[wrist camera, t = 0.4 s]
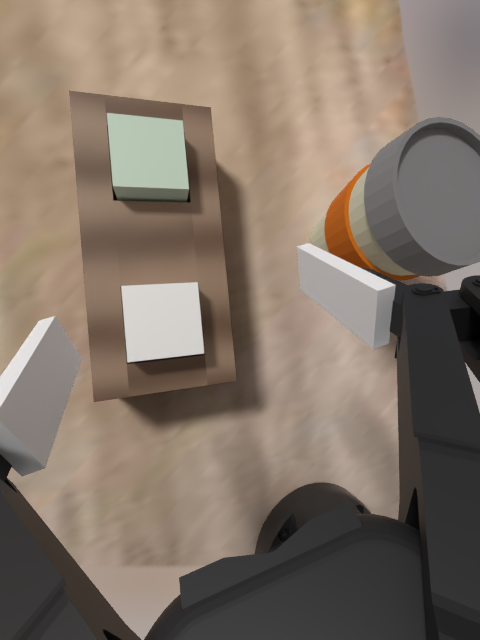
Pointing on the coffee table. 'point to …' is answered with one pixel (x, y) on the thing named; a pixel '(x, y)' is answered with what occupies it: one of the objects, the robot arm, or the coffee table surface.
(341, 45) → the coffee table surface
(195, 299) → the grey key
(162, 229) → the key panel
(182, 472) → the coffee table surface
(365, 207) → the reusable coffee cup
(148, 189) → the sage key
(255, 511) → the coffee table surface
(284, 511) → the robot arm
